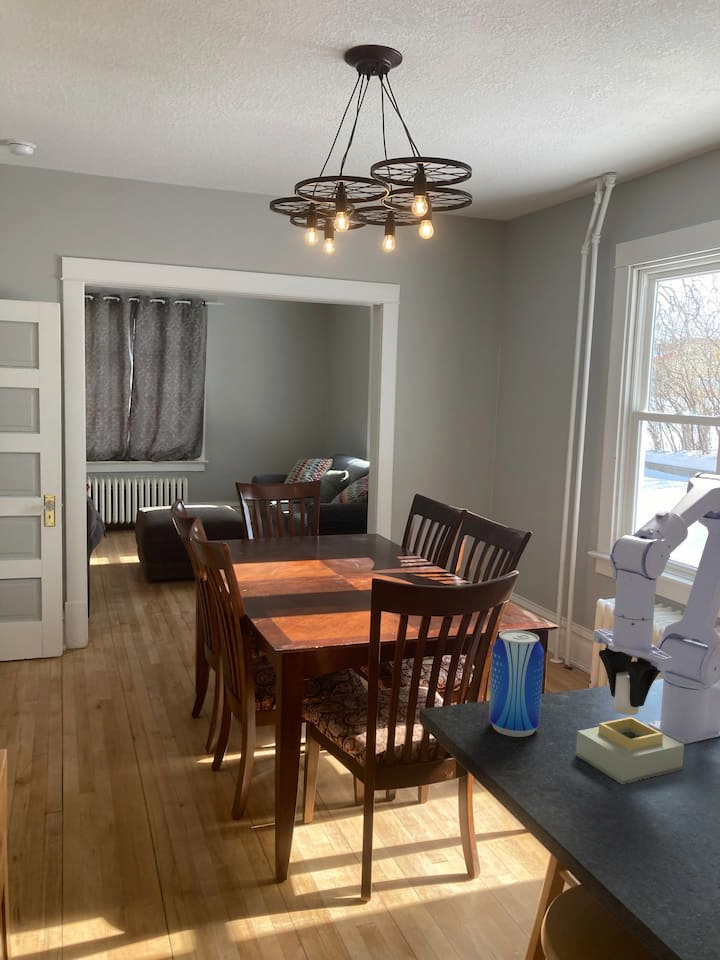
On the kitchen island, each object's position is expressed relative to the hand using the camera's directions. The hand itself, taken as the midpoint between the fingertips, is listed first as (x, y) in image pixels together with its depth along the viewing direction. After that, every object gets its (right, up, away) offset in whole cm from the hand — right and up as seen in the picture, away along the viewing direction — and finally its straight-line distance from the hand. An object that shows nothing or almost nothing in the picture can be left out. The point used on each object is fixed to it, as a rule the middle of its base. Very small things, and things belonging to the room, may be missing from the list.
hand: (627, 700), depth 124 cm
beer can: (-15, -8, +11) cm, 21 cm away
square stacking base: (0, -10, 0) cm, 9 cm away
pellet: (0, -2, 0) cm, 2 cm away
